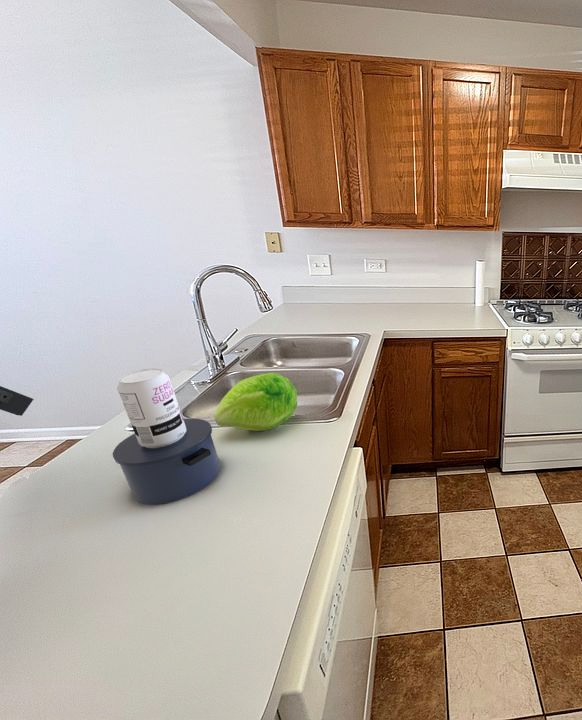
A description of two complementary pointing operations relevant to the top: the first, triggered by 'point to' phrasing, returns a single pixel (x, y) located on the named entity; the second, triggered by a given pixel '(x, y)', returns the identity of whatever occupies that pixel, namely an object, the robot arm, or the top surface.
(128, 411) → the supplement can
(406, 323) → the top surface
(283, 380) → the lettuce
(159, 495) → the pot
